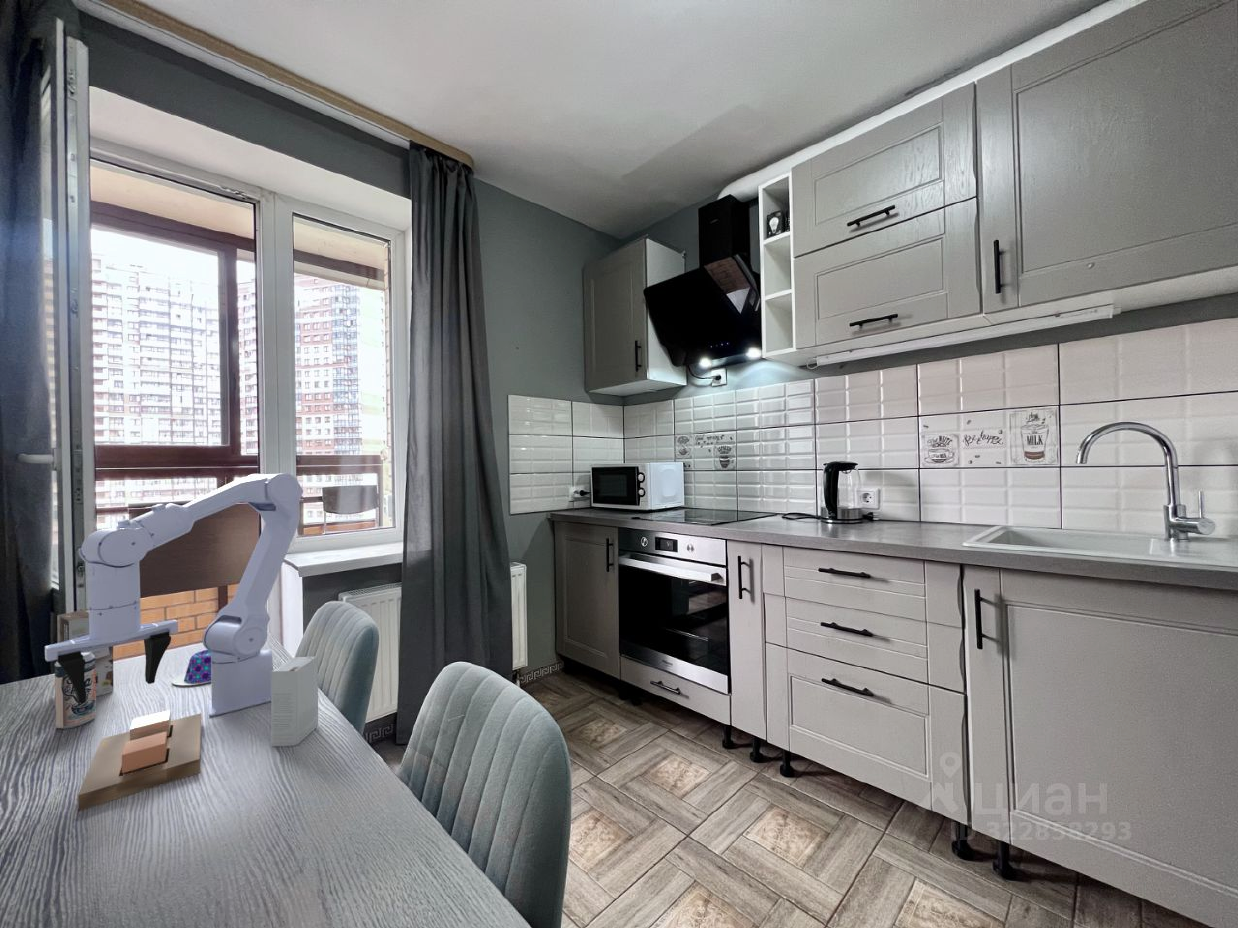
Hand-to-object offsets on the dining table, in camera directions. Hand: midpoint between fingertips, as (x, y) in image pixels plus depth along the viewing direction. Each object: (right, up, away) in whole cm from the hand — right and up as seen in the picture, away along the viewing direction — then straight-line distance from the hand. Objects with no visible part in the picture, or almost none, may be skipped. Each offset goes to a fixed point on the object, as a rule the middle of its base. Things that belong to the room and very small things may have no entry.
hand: (117, 691), depth 78 cm
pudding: (-10, -11, +29) cm, 33 cm away
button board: (+8, -9, -3) cm, 13 cm away
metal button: (+5, -7, +1) cm, 9 cm away
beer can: (-17, -10, +9) cm, 22 cm away
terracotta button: (+11, -7, -6) cm, 14 cm away
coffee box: (-28, -11, +22) cm, 37 cm away
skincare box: (+26, -9, +3) cm, 28 cm away
